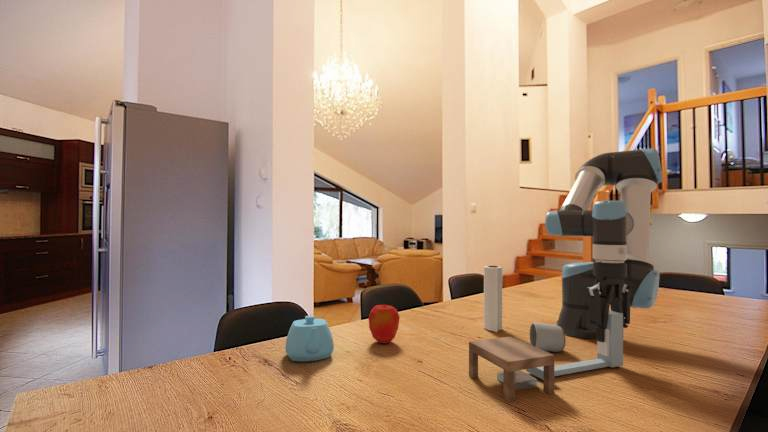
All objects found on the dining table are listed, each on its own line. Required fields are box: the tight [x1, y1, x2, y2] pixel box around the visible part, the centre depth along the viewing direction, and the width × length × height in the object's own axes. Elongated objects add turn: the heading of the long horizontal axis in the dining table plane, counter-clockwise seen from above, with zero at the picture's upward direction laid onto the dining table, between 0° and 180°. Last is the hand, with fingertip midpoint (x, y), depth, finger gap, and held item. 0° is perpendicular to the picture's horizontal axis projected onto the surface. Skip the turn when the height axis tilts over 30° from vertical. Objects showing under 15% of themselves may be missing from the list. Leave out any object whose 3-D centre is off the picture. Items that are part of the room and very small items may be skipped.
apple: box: [368, 304, 401, 344], centre depth 114 cm, size 9×9×12 cm
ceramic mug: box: [529, 322, 567, 353], centre depth 109 cm, size 11×8×8 cm
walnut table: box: [468, 336, 555, 403], centre depth 85 cm, size 12×14×8 cm
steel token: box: [496, 370, 538, 391], centre depth 85 cm, size 6×6×2 cm
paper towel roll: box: [483, 265, 503, 333], centre depth 129 cm, size 7×6×21 cm
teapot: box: [285, 314, 334, 362], centre depth 101 cm, size 13×11×18 cm
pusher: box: [525, 309, 624, 381], centre depth 92 cm, size 26×7×13 cm, turn 111°
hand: (610, 353), depth 96 cm, fingers closed on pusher, 4 cm apart
